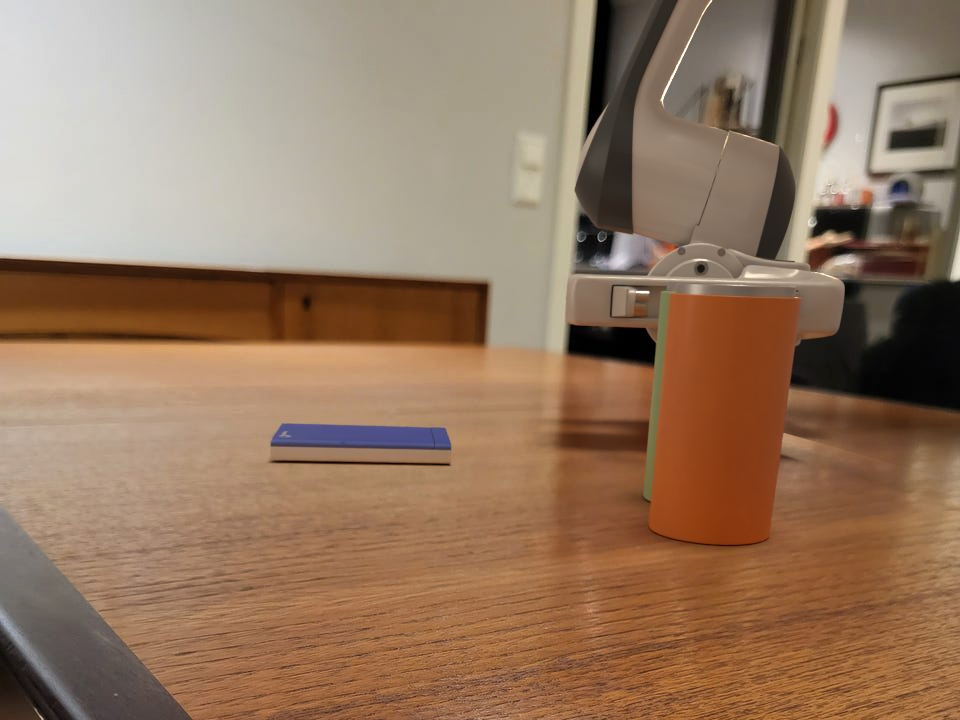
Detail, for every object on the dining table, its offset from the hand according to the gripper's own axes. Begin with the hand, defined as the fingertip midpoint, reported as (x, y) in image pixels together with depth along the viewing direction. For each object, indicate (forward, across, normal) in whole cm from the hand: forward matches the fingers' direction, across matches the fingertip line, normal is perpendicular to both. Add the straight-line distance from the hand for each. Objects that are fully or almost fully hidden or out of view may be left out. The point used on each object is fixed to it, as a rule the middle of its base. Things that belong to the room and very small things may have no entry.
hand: (707, 305), depth 69 cm
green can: (+12, 0, +11) cm, 16 cm away
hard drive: (+3, -24, +11) cm, 26 cm away
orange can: (+20, 0, +11) cm, 23 cm away
